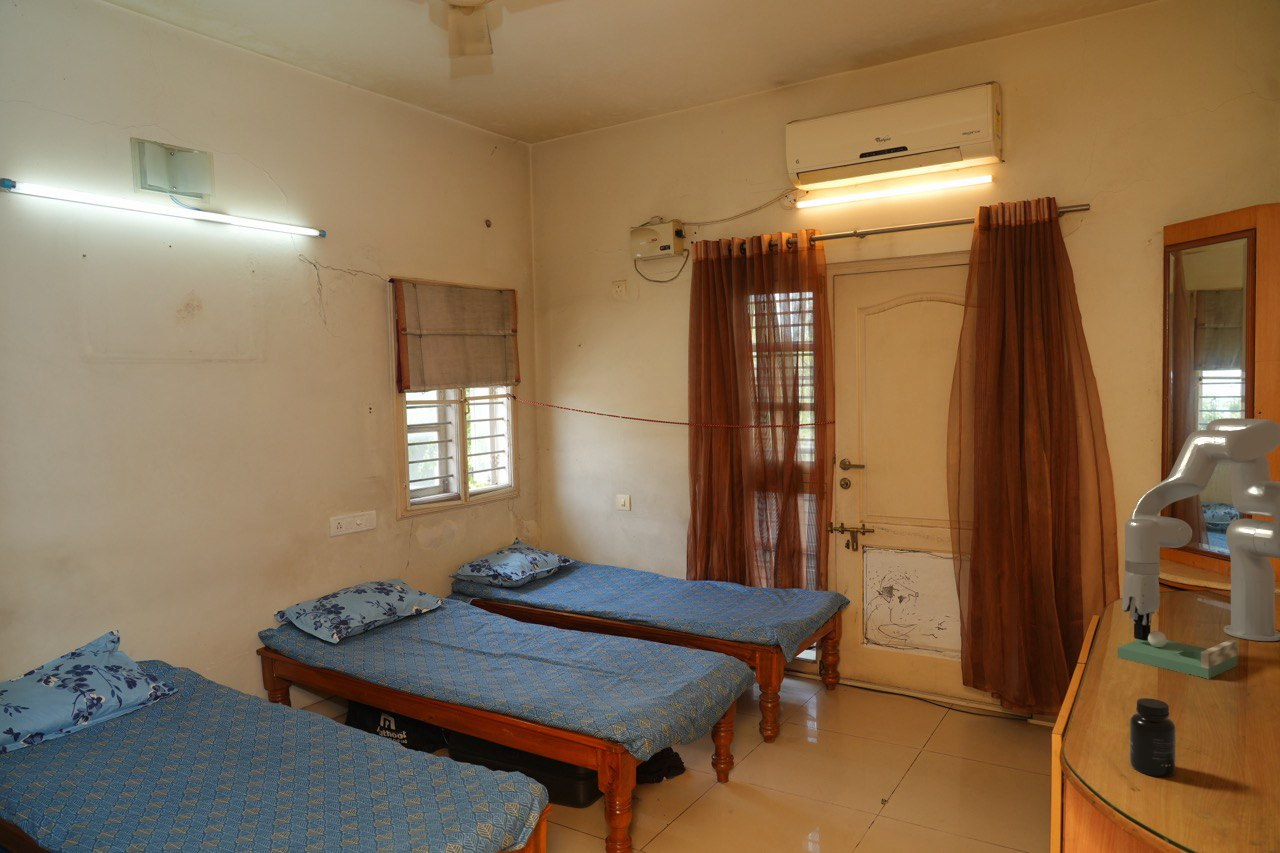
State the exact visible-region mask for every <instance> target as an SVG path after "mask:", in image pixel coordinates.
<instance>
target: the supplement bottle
mask: <svg viewBox="0 0 1280 853" xmlns="http://www.w3.org/2000/svg"><path fill="white" fill-rule="evenodd" d="M1169 708H1170V706H1169V704H1168V703H1166V702H1165V701H1162V700H1160V699H1155V698H1150V697H1148V698H1147V697H1146V698H1145V697H1142V698H1138V699H1137V700H1136V708H1135V709H1136V713H1134V714H1133V715H1131V717H1130V720H1129V727H1130V728H1129V761H1130V763H1129V764H1130V765H1131V767H1132V768H1133V769H1134V770H1136V771H1137V772H1139V773H1141V774H1143V775H1146V776H1149V777H1156V778H1168V777H1171V776H1174V774H1175V773H1176V752H1177V751H1176V743H1177V742H1176V733H1177V732H1176V725H1175V723H1174V722H1173V720H1172V719H1170V718H1169V717H1170V712H1169V711H1170V710H1169Z"/></svg>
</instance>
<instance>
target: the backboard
mask: <svg viewBox="0 0 1280 853" xmlns="http://www.w3.org/2000/svg"><path fill="white" fill-rule="evenodd" d="M1206 649H1207V650H1205V651H1202V652H1201V667H1204V668H1208V669H1209V668H1211V667H1213V666H1215V665H1217V664H1219V663H1221V662H1224V661H1226V660H1228V659H1230V658H1232V657H1234V656H1236V655H1237V656H1238V640H1235V639H1228V640H1225V641H1223V642H1221V643H1219V644H1216V645H1213V646H1212V647H1209V648H1206Z"/></svg>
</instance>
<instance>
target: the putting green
mask: <svg viewBox="0 0 1280 853" xmlns="http://www.w3.org/2000/svg"><path fill="white" fill-rule="evenodd" d="M1207 649H1208V648H1205V647H1201V646H1196V645H1192V644H1188V643H1184V642H1183V643H1181V642H1178V641H1172V640H1169V639H1167V643H1166V644H1165V645H1164V646H1163V647H1154V646H1152V645H1151V644H1150V643H1149V641H1144V640H1139V639H1136V640H1134V641H1131V642H1129V643H1126V644H1123V645H1121V646H1118V647H1117V658H1119V659H1123V660H1128V661H1132V662H1137V663H1141V664H1144V665H1147V664H1148V665H1147V666H1151V667H1152V666H1153V667H1156V666H1157V668H1161V669H1164V670H1168V669H1169V670H1168V671H1172V670H1173V672H1176V671H1177V672H1178V673H1180V674H1185V673H1186V674H1185V675H1189V674H1191V675H1190V676H1193V675H1196V676H1195V677H1197V676H1200V677H1199V678H1201V677H1203V678H1202V679H1205V678H1207V679H1206V680H1210V679H1212V678H1214V677H1216V676H1218V675H1220V674H1222V673H1224V672H1226V671H1229V670H1231V669H1233V668H1234V667H1237V666H1238V654H1237V655H1236V656H1234V657H1232V658H1230V659H1228V660H1226V661H1224V662H1221V663H1219V664H1217V665H1215V666H1213V667H1211V668H1209V669H1208V668H1204V667H1201V652H1202V651H1205V650H1207ZM1177 672H1176V673H1177ZM1211 677H1212V678H1211ZM1209 678H1210V679H1209Z"/></svg>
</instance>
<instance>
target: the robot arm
mask: <svg viewBox="0 0 1280 853" xmlns="http://www.w3.org/2000/svg"><path fill="white" fill-rule="evenodd" d="M1279 446H1280V425H1279V423H1278V422H1276V421H1274V420H1272V419H1270V418H1269V419H1268V418H1267V419H1266V418H1239V417H1237V418H1236V417H1235V418H1234V417H1233V418H1232V417H1231V418H1230V417H1227V418H1226V417H1225V418H1217V419H1214V420H1211V421H1210V422H1208V423H1207V425H1206V427H1205V429H1199V430H1198V429H1197V430H1195V431H1193V432H1191V433H1190V434H1189V435H1188V436H1187V437H1186V440H1185V442H1184V443H1183V446H1182V448H1181V450H1180V452H1179V454H1178V456H1177V459H1176V461H1175V462H1174V465H1173V466H1172V469H1171V471H1170V472H1169V475H1168V476H1167V477H1166V478H1165V479H1164V480H1162V481H1161V482H1159V483H1157V484H1156V485H1155V486H1153V487H1152V488H1151V489H1148V491H1147V492H1146V493H1145V494H1143V495H1142V496H1141V497H1140V499H1138V501H1137V503H1136V506H1135V507H1134V509H1133V511H1132V513H1131V516H1130V518H1129V519H1128V520H1126V522H1125V524H1124V573H1125V574H1124V578H1123V579H1124V580H1123V586H1122V597H1121V598H1122V599H1121V600H1122V603H1121V604H1122V605H1121V608H1122V611H1123V612H1124V613H1128V612H1129V614H1128V615H1129V616H1128V617H1129V619H1131V620H1132V623H1133V638H1134V640H1135V639H1136V640H1144V641H1148V636H1149V634H1150V633H1151V623H1152V617H1153V615H1154V613H1155V612H1156V611H1157V610H1158V609H1159V608H1160V598H1161V597H1160V595H1161V594H1160V584H1159V576H1160V575H1161V574H1160V572H1161V570H1160V569H1161V568H1160V565H1161V564H1160V563H1161V560H1160V559H1161V558H1160V553H1161V551H1160V549H1161V548H1171V549H1172V548H1174V549H1177V548H1182V547H1184V546H1186V545H1188V544H1189V542H1191V540H1192V537H1193V530H1192V528H1191V526H1190V525H1189V524H1188V522H1186V521H1184V520H1182V519H1179V518H1175V517H1169V516H1168V517H1167V516H1162V515H1159V514H1160V513H1161V511H1162V510H1164V508H1166V507H1167V506H1169V505H1170V504H1173V503H1174V502H1177V501H1181V500H1184V499H1187V498H1191V497H1194V496H1197V495H1200V494H1202V493H1203V492H1205V490H1206V489H1207V487H1208V484H1209V483H1210V481H1211V478H1212V476H1213V474H1214V472H1215V470H1216V467H1217V466H1218V464H1220V463H1221V464H1228V465H1229V471H1230V490H1231V491H1230V492H1231V503H1232V506H1233V508H1234V509H1235V510H1236V511H1237V512H1239V513H1241V514H1246V515H1252V516H1259V517H1267V518H1273V520H1274V521H1272V520H1271V521H1270V520H1265V519H1264V520H1263V519H1255V518H1240V519H1235V520H1233V521H1232V522H1231V523H1230V524H1229V525H1228V526H1227V529H1226V531H1225V532H1226V533H1225V534H1226V535H1225V537H1226V543H1227V546H1228V551H1229V556H1230V624H1227V625H1225V626H1224V627H1223V632H1224V633H1225V634H1227V635H1229V636H1231V637H1233V638H1234V637H1235V638H1239V639H1243V640H1249V641H1259V642H1276V641H1278V642H1279V641H1280V632H1279V631H1278V630H1276V628H1275V626H1276V625H1275V624H1276V623H1275V622H1276V617H1275V616H1276V615H1275V614H1276V611H1275V608H1276V606H1275V605H1276V603H1275V602H1276V599H1275V598H1276V594H1275V593H1276V591H1275V589H1276V583H1275V582H1276V574H1275V572H1276V571H1275V568H1274V567H1273V564H1272V563H1271V560H1270V559H1269V558H1272V559H1277V560H1280V481H1276V480H1275V481H1273V480H1272V478H1271V473H1270V472H1271V470H1270V463H1269V462H1270V461H1269V459H1268V457H1267V454H1269V453H1272V452H1274V451H1275V450H1276V449H1277V448H1278V447H1279Z"/></svg>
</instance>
